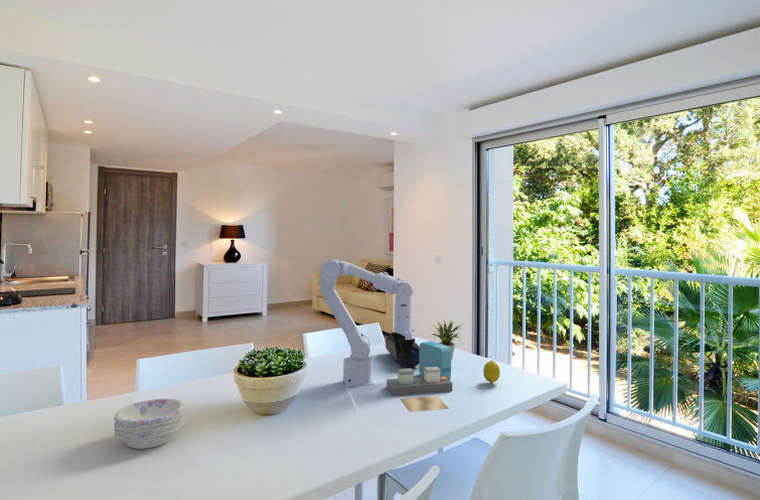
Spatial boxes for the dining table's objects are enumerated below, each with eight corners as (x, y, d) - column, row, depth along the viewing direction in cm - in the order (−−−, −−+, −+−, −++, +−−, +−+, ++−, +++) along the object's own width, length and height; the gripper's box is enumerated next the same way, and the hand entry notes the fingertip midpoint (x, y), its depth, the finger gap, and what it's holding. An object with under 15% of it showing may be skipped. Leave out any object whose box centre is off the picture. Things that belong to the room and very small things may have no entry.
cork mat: (409, 413, 123) (409, 411, 123) (400, 400, 133) (400, 398, 133) (449, 409, 126) (449, 408, 126) (436, 397, 136) (436, 395, 136)
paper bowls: (167, 421, 117) (167, 392, 116) (196, 438, 107) (196, 407, 107) (104, 442, 105) (104, 409, 105) (129, 463, 95) (129, 427, 95)
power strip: (392, 396, 136) (392, 385, 136) (386, 388, 143) (386, 377, 143) (452, 392, 140) (452, 381, 140) (443, 383, 148) (443, 373, 148)
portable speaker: (383, 353, 186) (383, 330, 186) (405, 352, 189) (405, 329, 188) (399, 371, 162) (399, 344, 162) (424, 369, 164) (425, 343, 164)
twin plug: (427, 391, 141) (427, 370, 141) (424, 388, 144) (424, 367, 144) (440, 390, 142) (440, 369, 142) (436, 387, 145) (437, 366, 145)
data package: (451, 381, 151) (451, 347, 151) (441, 383, 149) (442, 348, 148) (427, 372, 161) (428, 340, 161) (418, 374, 158) (419, 341, 158)
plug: (400, 393, 139) (400, 371, 139) (397, 390, 142) (397, 369, 141) (413, 392, 140) (413, 371, 140) (410, 389, 143) (410, 368, 142)
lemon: (498, 381, 151) (498, 358, 151) (501, 386, 146) (501, 363, 146) (482, 380, 152) (482, 357, 152) (484, 385, 146) (484, 362, 146)
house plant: (464, 365, 169) (464, 324, 168) (428, 363, 172) (429, 322, 171) (464, 356, 183) (465, 317, 182) (431, 353, 186) (432, 316, 185)
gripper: (420, 320, 142) (420, 361, 142) (407, 312, 156) (407, 349, 156) (400, 320, 140) (399, 362, 141) (388, 312, 154) (388, 350, 155)
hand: (402, 355), depth 149 cm, fingers open, 7 cm apart
